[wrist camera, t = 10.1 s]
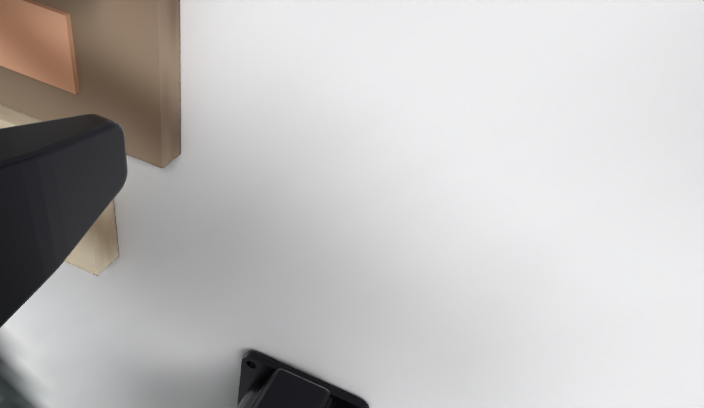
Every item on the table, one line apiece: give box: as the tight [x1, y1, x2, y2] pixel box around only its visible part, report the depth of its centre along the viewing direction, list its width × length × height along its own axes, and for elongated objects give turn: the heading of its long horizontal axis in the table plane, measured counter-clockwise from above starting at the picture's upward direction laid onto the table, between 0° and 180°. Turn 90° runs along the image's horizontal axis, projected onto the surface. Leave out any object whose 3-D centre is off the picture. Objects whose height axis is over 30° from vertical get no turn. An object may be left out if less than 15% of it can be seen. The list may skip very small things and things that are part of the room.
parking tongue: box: [0, 104, 119, 276], centre depth 27 cm, size 7×7×2 cm
